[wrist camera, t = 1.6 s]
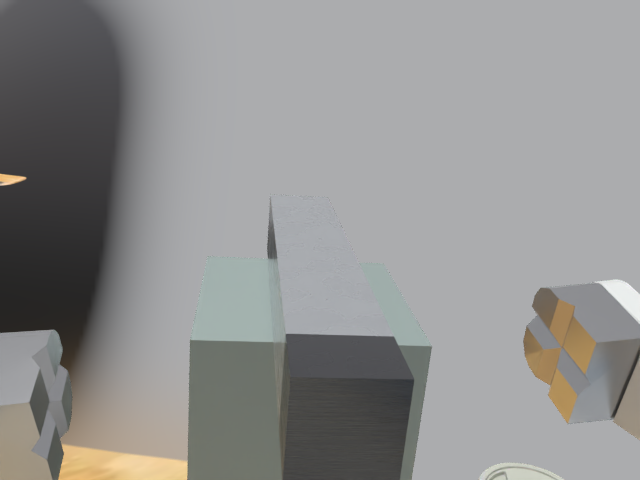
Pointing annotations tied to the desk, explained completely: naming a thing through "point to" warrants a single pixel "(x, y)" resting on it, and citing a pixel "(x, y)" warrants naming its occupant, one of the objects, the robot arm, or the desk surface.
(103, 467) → the desk surface
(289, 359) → the lever bar
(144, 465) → the desk surface
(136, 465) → the desk surface
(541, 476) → the coffee cup
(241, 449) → the press column
